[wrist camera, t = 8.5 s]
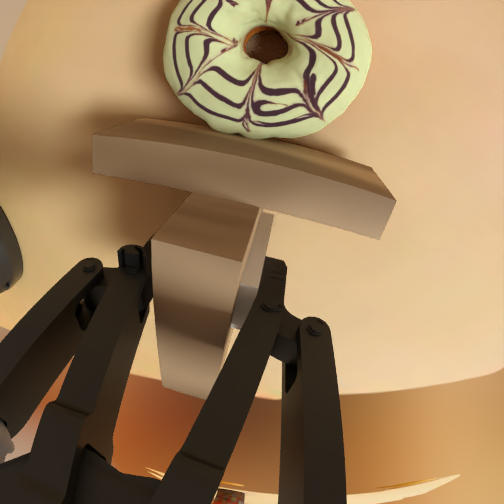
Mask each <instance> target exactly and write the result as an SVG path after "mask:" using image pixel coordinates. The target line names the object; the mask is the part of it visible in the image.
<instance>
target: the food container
mask: <svg viewBox="0 0 504 504" xmlns="http://www.w3.org/2000/svg"><path fill="white" fill-rule="evenodd" d="M244 497H245V494H244V493H242V492H237V491H232V490H225V489H219V490H218V492H217V495H216V497H215V500H214V503H213V504H244Z"/></svg>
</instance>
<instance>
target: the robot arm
mask: <svg viewBox="0 0 504 504" xmlns="http://www.w3.org/2000/svg"><path fill="white" fill-rule="evenodd" d="M273 217H274V215H273V214H269V213H265V212H261V215H260V218H259V222H258V225H257V228H256V232H255V235H254V238H253V242H252V245H251V248H250V252H249V255H248V258H247V262H246V265H245V268H244V272H243V275H242V278H241V282H240V286H239V290H238V295H237V299H236V304H235V309H234V313H233V318H232V322H231V327H232V328H236V329H240V332H239V334H238V336H237V338H236V340H235V342H234V344H233V346H232V349H231V351H230V353H229V355H228V357H227V359H226V361H225V363H224V365H223V367H222V369H221V371H220V373H219V375H218V377H217V379H216V381H215V383H214V385H213V387H212V389H211V391H210V393H209V395H208V397H207V399H206V401H205V403H204V405H203V407H202V409H201V411H200V413H199V415H198V417H197V419H196V421H195V423H194V425H193V427H192V429H191V431H190V433H189V435H188V437H187V439H186V441H185V443H184V445H183V446H182V448H181V449H180V451H179V452H178V453H177V454H176V455H175V457H174V458H173V460H172V462H171V464H170V465H169V468H168V469H167V471H166V473H165V475H164V477H163V479H162V480H161V481H160V480H158V479H154V478H150V477H143V476H136V475H130V474H124V473H121V472H119V471H118V470H117V469H115V468H114V467H113V466H111V461H112V456H113V433H114V429H115V425H116V421H117V417H118V413H119V409H120V405H121V401H122V398H123V394H124V390H125V387H126V383H127V380H128V377H129V373H130V370H131V366H132V363H133V360H134V357H135V353H136V350H137V347H138V344H139V341H140V338H141V335H142V332H143V329H144V326H145V323H146V320H147V317H148V314H149V309H150V307H149V303H150V301H151V300H152V298H153V281H152V252H151V239H152V237H153V236H154V235H155V234H154V235H153V236H152V237H151V238H150V239H149V241H148V242H147V243H146V244H145V246H143V247H141V246H138V245H126V246H123V247H121V248H120V249H119V250H118V251H117V252H118V261H119V267H118V268H107V267H103V264H102V262H101V261H100V260H99V259H97V258H86V259H83V260H81V261H80V262H79V263H78V264H76V265H75V266H74V267H73V268H72V269H71V270H70V271H69V272H68V273H67V274H66V275H65V276H63V277H62V278H61V279H60V280H59V281H58V282H57V283H56V284H55V285H54V286H53V287H52V288H51V289H50V290H49V291H48V292H47V293H46V294H45V295H44V296H43V297H42V298H41V299H40V300H39V301H38V302H37V303H36V304H35V305H34V306H33V307H32V308H31V309H30V310H29V311H28V312H27V314H26V315H25V316H24V317H23V318H22V319H21V320H20V321H19V322H18V323H17V324H16V325H15V327H14V328H13V329H12V330H11V331H10V332H9V333H8V335H7V336H6V337H5V338H4V339H3V340H2V342H1V343H0V504H211V502H212V500H213V498H214V496H215V493H216V491H217V489H218V487H219V484H220V482H221V480H222V477H223V475H224V472H225V469H226V466H227V464H228V461H229V459H230V457H231V454H232V452H233V449H234V447H235V445H236V442H237V440H238V437H239V435H240V432H241V430H242V427H243V425H244V422H245V420H246V417H247V415H248V412H249V410H250V407H251V404H252V402H253V399H254V397H255V394H256V391H257V389H258V386H259V383H260V381H261V378H262V375H263V372H264V370H265V367H266V364H267V361H268V358H269V356H270V355H271V356H273V357H274V358H276V359H278V360H280V361H282V414H281V416H282V417H281V450H280V475H279V496H278V504H347V499H346V474H345V457H344V443H343V430H342V420H341V409H340V400H339V391H338V382H337V374H336V366H335V359H334V352H333V345H332V338H331V331H330V328H329V326H328V325H327V324H326V322H325V321H323V320H321V319H320V318H316V317H307V318H304V319H303V320H301V319H299V318H297V317H295V316H293V315H292V314H290V313H289V312H288V311H287V309H286V308H285V306H284V294H285V285H286V275H287V266H286V264H285V262H284V261H283V260H279V259H275V258H271V257H267V256H265V255H266V251H267V246H268V241H269V236H270V232H271V227H272V222H273ZM22 273H23V262H22V257H21V252H20V249H19V246H18V243H17V240H16V237H15V235H14V233H13V230H12V228H11V226H10V224H9V222H8V220H7V218H6V216H5V215H4V213H3V211H2V209H1V208H0V293H2V292H4V291H6V290H8V289H10V288H11V287H12V286H13V285H14V284H15V283H16V282H17V281H18V280H19V279H20V278H21V276H22ZM153 303H154V299H153ZM73 356H74V358H73V360H72V362H71V365H70V367H69V370H68V372H67V375H66V377H65V380H64V382H63V385H62V387H61V390H60V393H59V395H58V397H57V399H56V400H55V401H52V402H49V403H48V404H47V405H46V407H45V409H44V411H43V414H42V417H41V420H40V423H39V426H38V429H37V432H36V435H35V438H34V442H33V445H32V449H31V452H30V453H27V454H25V455H22V456H20V457H17V458H15V459H12V460H9V461H6V462H4V460H5V456H6V455H7V453H12V452H13V451H14V444H13V442H12V441H11V439H12V438H13V437H14V436H15V435H16V434H17V433H18V432H19V431H20V430H21V429H22V428H23V427H24V425H25V424H26V423H27V421H28V420H29V419H30V417H31V415H32V414H33V412H34V411H35V409H36V408H37V406H38V405H39V403H40V402H41V400H42V399H43V398H44V396H45V395H46V393H47V392H48V390H49V389H50V387H51V386H52V384H53V383H54V382H55V380H56V379H57V378H58V376H59V375H60V373H61V372H62V371H63V369H64V368H65V367H66V365H67V364H68V362H69V361H70V360H71V358H72V357H73Z"/></svg>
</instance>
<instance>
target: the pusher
mask: <svg viewBox="0 0 504 504" xmlns="http://www.w3.org/2000/svg"><path fill="white" fill-rule="evenodd" d="M92 172H93V173H95V174H101V175H106V176H112V177H118V178H123V179H129V180H134V181H139V182H145V183H150V184H155V185H160V186H165V187H170V188H175V189H180V190H184V191H189V192H192V193H191V194H190V195H189V196H188V197H187V198H186V200H185V201H184V202H183V203H182V204H181V205H180V206H179V207H178V208H177V210H176V211H175V212H174V213H173V214H172V215H171V216H170V218H169V219H168V220H167V221H166V222H165V223H164V224H163V226H162V227H161V228H160V229H159V230H158V232H157V233H156V234H155V235H154V236H153V237H152V239H151V252H152V281H153V299H154V313H155V325H156V336H157V346H158V355H159V363H160V371H161V378H162V385H163V387H166V388H169V389H173V390H176V391H179V392H182V393H185V394H188V395H192V396H195V397H198V398H202V399H207V397H208V395H209V393H210V391H211V389H212V387H213V385H214V383H215V381H216V379H217V377H218V375H219V373H220V371H221V369H222V367H223V364H224V361H225V357H226V353H227V350H228V346H229V343H230V339H231V335H232V332H233V328H232V327H231V322H232V318H233V313H234V309H235V304H236V299H237V295H238V290H239V286H240V282H241V278H242V275H243V272H244V268H245V265H246V262H247V258H248V255H249V252H250V248H251V245H252V242H253V238H254V235H255V232H256V228H257V225H258V222H259V218H260V215H261V212H262V210H263V209H267V210H271V211H275V212H279V213H283V214H287V215H291V216H295V217H299V218H302V219H306V220H310V221H314V222H317V223H321V224H325V225H328V226H332V227H336V228H339V229H343V230H346V231H350V232H353V233H357V234H360V235H364V236H367V237H370V238H374V239H377V240H380V238H381V235H382V233H383V231H384V229H385V226H386V224H387V222H388V220H389V217H390V215H391V213H392V210H393V208H394V206H395V203H396V200H395V198H394V197H393V195H392V194H391V193H390V191H389V190H388V189H387V187H386V186H385V185H384V183H383V182H382V181H381V179H380V178H379V177H378V176H377V174H376V173H375V172H374V170H373V169H372V168H371V167H369V166H366V165H363V164H360V163H357V162H354V161H351V160H347V159H344V158H341V157H338V156H335V155H331V154H328V153H324V152H321V151H317V150H314V149H310V148H307V147H303V146H299V145H295V144H291V143H287V142H283V141H279V140H275V139H271V138H265V139H251V138H247V137H244V136H243V135H241V134H240V133H233V134H226V133H222V132H219V131H216V130H214V129H212V128H211V127H210V126H204V125H197V124H190V123H183V122H175V121H167V120H158V119H149V118H140V119H136V120H133V121H130V122H127V123H124V124H121V125H118V126H115V127H112V128H109V129H107V130H104V131H101V132H98V133H96V134H93V135H92Z"/></svg>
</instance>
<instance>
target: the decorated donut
mask: <svg viewBox="0 0 504 504" xmlns="http://www.w3.org/2000/svg"><path fill="white" fill-rule="evenodd" d="M274 30H276V31H278V32H279V33H280V34H281V36H283V38H284V39H285V40H286V42H287V44H288V47H289V48H288V53H287V55H286V56H285V57H283V58H281V59H276V60H272V61H270V62H269V63H267V64H264V63H262V62H260V61H258V60H256V59H253V58H250V57H249V55H247V53H246V47H245V46H246V43H247V42H248V40H249V39H250V37H253V34H255V33H259V32H260V31H262V32H263V31H274ZM371 55H372V46H371V40H370V38H369V34H368V30H367V27H366V25H365V22H364V20H363V18H362V16H361V15H360V13H359V12H358V10H357V9H356V8H355V7H354V6H353V5H352V3H351V2H350V0H180V1H179V3H178V5H177V6H176V8H175V10H174V11H173V13H172V15H171V18H170V21H169V25H168V29H167V36H166V41H165V46H164V51H163V64H164V73H165V77H166V80H167V81H168V83H169V85H170V87H171V88H172V90H173V91H174V93H175V95H176V97H177V98H178V99H179V100H180V101H181V102H182V104H183V105H185V106H186V107H187V108H188V109H189V110H190V111H191V112H193V113H194V114H195V115H197V116H199V117H200V118H201V119H203V120H204V121H206V122H207V124H208V125H209V126H210V127H211V128H212V129H214V130H216V131H219V132H222V133H226V134H233V133H240V134H241V135H243V136H244V137H247V138H251V139H265V138H270V137H277V138H297V137H302V136H307V135H310V134H312V133H315V132H318V131H320V130H321V129H322V128H324V127H325V126H326V125H328V124H329V123H331V122H332V121H333V120H334V119H336V118H337V117H338V116H340V115H341V114H343V113H344V111H345V110H346V109H347V107H348V106H349V105H350V104H351V103H352V101H353V100H354V98H355V97H356V96H357V95H358V93H359V91H360V89H361V88H362V86H363V85H364V82H365V78H366V76H367V73H368V70H369V67H370V62H371Z"/></svg>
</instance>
